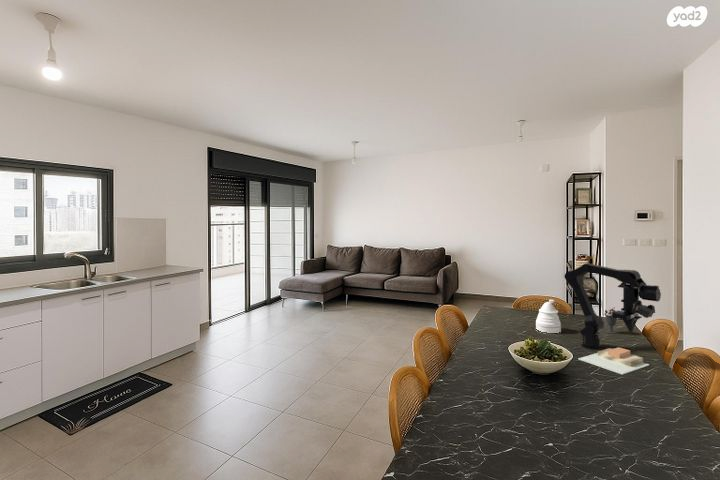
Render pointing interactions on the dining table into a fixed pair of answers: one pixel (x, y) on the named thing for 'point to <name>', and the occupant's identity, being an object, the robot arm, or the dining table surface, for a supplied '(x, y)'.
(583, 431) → the dining table surface
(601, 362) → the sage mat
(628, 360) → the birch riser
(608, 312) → the sundae
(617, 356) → the terracotta tile
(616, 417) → the dining table surface
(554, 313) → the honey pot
